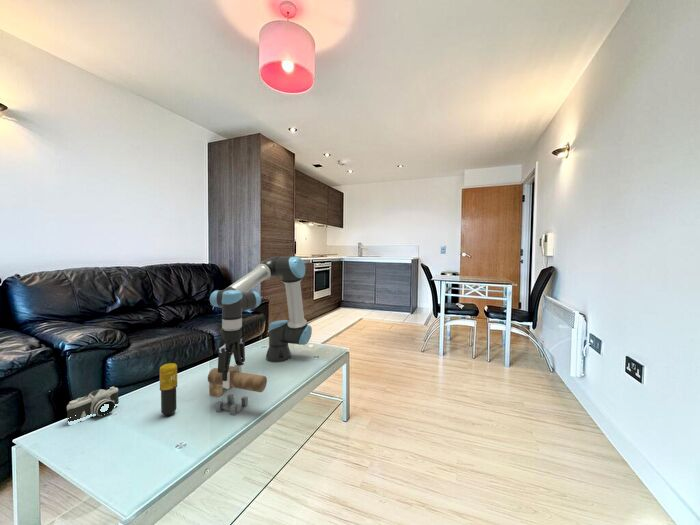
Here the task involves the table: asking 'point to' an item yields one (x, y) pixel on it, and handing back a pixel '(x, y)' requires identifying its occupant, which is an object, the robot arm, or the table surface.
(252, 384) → the axle
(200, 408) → the table surface
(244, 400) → the grey h-shaped block
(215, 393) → the wooden arch block
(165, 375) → the microphone
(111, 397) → the camera
